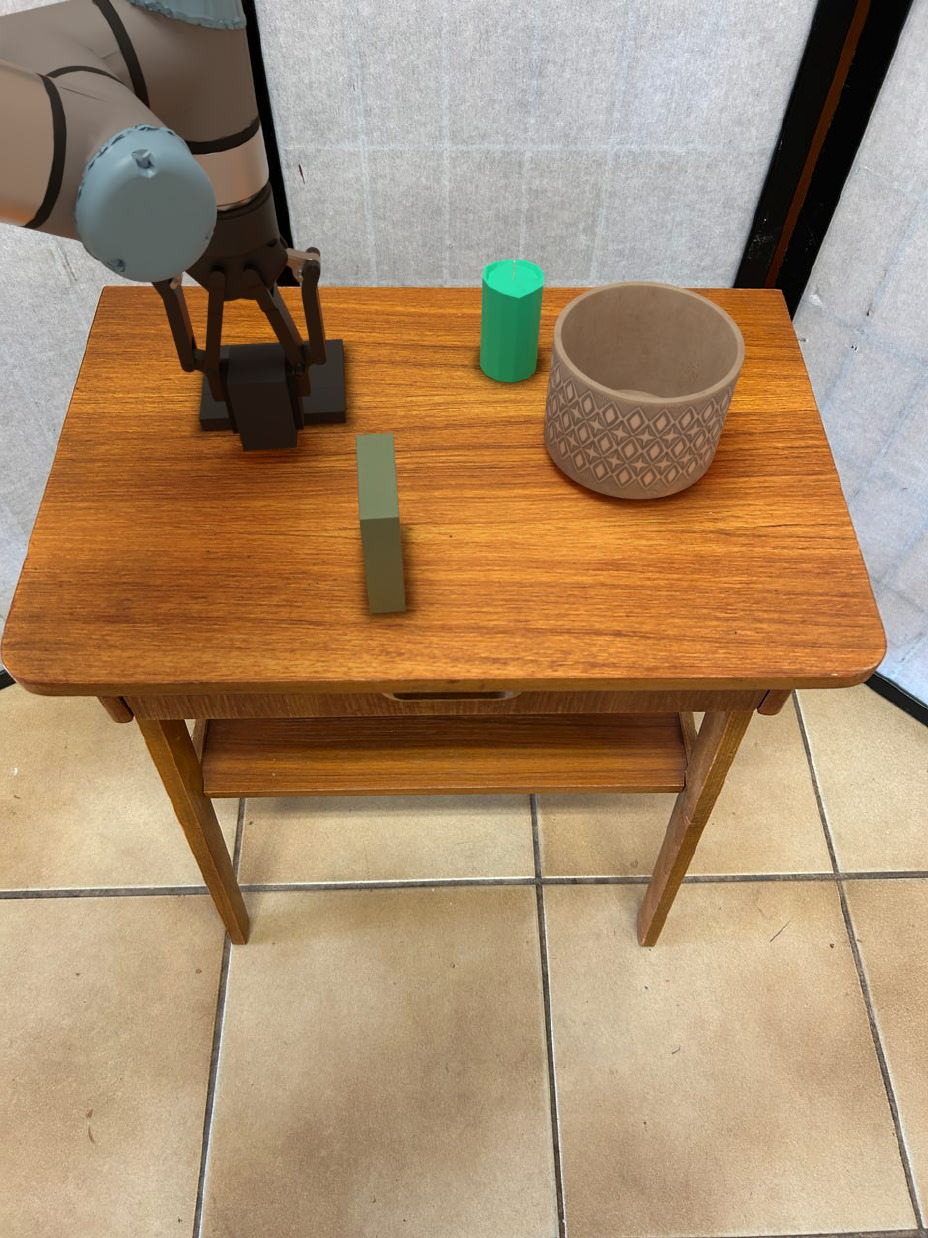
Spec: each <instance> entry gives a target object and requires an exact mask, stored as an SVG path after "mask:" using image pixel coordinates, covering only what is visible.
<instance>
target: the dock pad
mask: <svg viewBox="0 0 928 1238" xmlns="http://www.w3.org/2000/svg"><path fill="white" fill-rule="evenodd" d="M303 342H304V344H307V343H310V342H309V340H303ZM277 344H280V342H279V341H274V342H255V343H253V342H252V343H235V344H221V348H220V361H221V358H229V348H230V347H240V346H259V345H277ZM309 370H310V377H311V394H310V396H308V397H302V401H303V407H304V426H307V425H322V424H323V425H324V424H326V425H327V424H342V423H347V409H346V408H347V407H346V404H347V403H346V375H345V349H344V340H343V338H333V339H331V338H330V339H326V363H325V364H323V365H317V364H313V365H311V366H310V367H309ZM202 375H203V376H202V384H201V385H202V386H201V396H200V406H199V416H198V420H199V423H200V424H199V425H200V427H201V430H202V431H217V430H232V427H231V423H230V419H229V415H228V411H227V407H226V403H225V402H215V400H214V399H213V398H212V394H211V391H210V387H209V383H208V379H207V376H206V375H205V374H204V373H203V374H202Z"/></svg>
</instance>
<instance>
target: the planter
mask: <svg viewBox="0 0 928 1238" xmlns="http://www.w3.org/2000/svg"><path fill="white" fill-rule="evenodd" d="M552 335H553V337H552V344H551V355H550V364H549V374H548V380H547V381H548V382H547V392H546V399H545V400H546V401H545V410H544V419H543V433H542V435H543V441H544V445H545V448H546V450H547V453H548V455H549V456H550V459H552V461H553V462H554V464H555V465H556V466H557V467H558V468H559V469H560V470H561V472H562V473H564V474H565V475H566V476H568V477H569V478H570V479H571V480H573V481H574V482H575V483H578V484H579V485H581V486H583V487H585V488H587V489H590V490H592V491H594V492H596V493H600V494H603V495H606V496H611V497H615V498H621V499H628V500H629V499H630V500H650V499H651V500H652V499H656V498H663V497H668V496H671V495H673V494H677V493H679V492H681V491H684V490H686V489H687V488H688V489H689V487H691V486H692V485H693V484H695V483H696V482H698V481H699V480H700V479H701V478H702V477H703V476H704V475H705V474H706V473H707V471H708V470H709V468H710V466H711V465H712V462H713V460H714V457H715V454H716V452H717V448H718V445H719V441H720V439H721V435H722V433H723V430H724V429H723V428H724V426H725V422H726V419H727V416H728V412H729V410H730V406H731V404H732V400H733V397H734V394H735V391H736V388H737V384H738V381H739V378H740V374H741V371H742V368H743V365H744V362H745V356H746V345H745V339H744V336H743V333H742V331H741V329H740V327H739V326H738V325H737V323H736V321H735V320H734V319H733V318H732V316H730V315H729V314H728V312H727V311H725V310H724V309H723V308H722V307H721V306H719V305H718V304H716V303H715V302H714V301H712V300H710V299H709V298H707V297H705V296H703V295H701V294H699V293H698V292H697V293H696V292H695V291H692V290H689V289H687V288H684V287H681V286H676V285H674V284H673V285H672V284H669V283H663V282H657V281H645V280H632V281H631V280H628V281H627V280H626V281H619V282H611V283H607V284H603V285H600V286H597V287H594V288H592V289H589V290H587V291H585V292H583V293H581V294H580V295H578V296H576V297H575V298H573V299H572V300H570V302H568V304H566V306H565V307H563V309H562V310H561V311H560V313H559V315H558V316H557V319H556V321H555V323H554V328H553V334H552Z"/></svg>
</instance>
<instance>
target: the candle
mask: <svg viewBox="0 0 928 1238" xmlns="http://www.w3.org/2000/svg"><path fill="white" fill-rule="evenodd" d="M481 280H482V281H481V283H482V284H481V310H480V311H481V312H480V313H481V315H480V316H481V317H480V348H479V367H480V369H481V370H482V372H483V373H484V375H485V376H486V377H489V378H490V379H492V380H494V381H497V382H502V383H512V384H513V383H517V382H521V381H525V380H527V379H529V377H531V376H532V375H533V374H534V373H535V372H536V370H537V362H538V351H539V338H540V329H541V318H542V317H541V316H542V306H543V296H544V295H543V294H544V285H545V284H544V283H545V272H544V271H543V269H542V268H541V267H540V266H539V265H538V264H536V263H534V262H531V261H529V260H526V259H512V258H511V259H509V258H507V259H502V260H495V261H492V262H490V263H488V264H487V265H485V266H483V273H482V279H481Z"/></svg>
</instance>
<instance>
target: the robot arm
mask: <svg viewBox="0 0 928 1238" xmlns="http://www.w3.org/2000/svg"><path fill="white" fill-rule="evenodd" d="M246 26H247V17H246V14H245V13H244V9H243V4H242V0H64V1H59V2H56V3H55V2H54V3H51V4H47V5H43V6H38V7H34V8H30V9H25V10H22V11H17V12H12V13H8V14H3V15H0V224H5V225H9V226H14V227H18V228H24V229H27V230H32V231H36V232H40V233H44V234H47V235H51V236H56V237H60V238H64V239H69V240H73V241H77V242H79V243H81V244H82V247H83V249H84V250H85V252H86V253H87V254H88V255H89V256H90V257H91V258H93V259H94V260H96V261H98V262H100V263H101V264H102V265H103V266H104V267H105V268H107V269H108V270H109V271H111V272H113V273H114V274H116V275H117V276H119V277H121V278H123V279H126V280H129V281H133V282H138V283H151V285H152V286H153V288H154V289H155V290H156V292H157V293H158V295H159V297H160V298H161V299H162V302H163V306H164V310H165V314H166V317H167V320H168V325H169V328H170V332H171V335H172V338H173V342H174V346H175V349H176V352H177V357H178V361H179V364H180V368H181V369H182V371H184V372H185V373H191V374H192V373H193V372H196V371H197V372H201V373H203V374H205V375H206V376H207V379H208V383H209V387H210V391H211V394H212V398H213V399H214V400H215V402H225V403H226V407H227V411H228V415H229V419H230V423H231V427H232V429H231V430H232V434H233V435H239V432H238V428H237V424H236V420H235V416H234V412H233V408H232V404H231V400H230V396H229V392H228V388H227V373H228V360H229V358H221V361H220V348H221V345H222V334H223V333H222V332H223V321H224V319H223V318H224V307H225V302H233V301H238V300H240V299H242V300H248V301H255V302H256V303H257V305H258V308H259V309H260V311H261V312H262V313H264V315H265V316H266V319H267V320H268V323H269V325H270V326H271V329H272V331H273V332H274V335H275V336H276V338H277V340H278V342H280V344H281V346H282V348H283V350H284V352H285V354H286V379H287V385H288V390H289V395H290V401H291V406H292V412H293V417H294V423H295V428H296V430H298V431H304V430H305V425H304V407H303V401H302V397H308V396H310V394H311V377H310V370H309V367H310V366H311V365H313V364H317V365H323V364H325V363H326V340H327V337H326V330H325V324H324V319H323V317H324V316H323V312H322V311H323V310H322V303H321V299H320V291H319V280H320V277H321V271H322V270H321V269H322V267H321V265H322V264H321V262H322V261H321V250H320V249H318V248H317V247H315V246H310V247H308V248H307V249H306V250H305V251H302V250H299V249H294V248H291V247H289V246H288V245H289V244H288V243H287V242H286V240H285V239H284V238H283V236H282V235H281V233H280V229H279V225H278V219H277V213H276V206H275V200H274V195H273V187H272V184H271V182H270V180H269V177H270V175H269V174H270V173H269V172H270V171H269V164H268V159H267V152H266V147H265V140H264V135H263V129H262V124H261V120H260V119H261V118H260V114H259V108H258V104H257V99H256V91H255V84H254V76H253V70H252V64H251V63H252V62H251V55H250V50H249V42H248V36H247V29H246ZM286 266H287V267H289V268H290V269H291V271H292V276H293V278H294V279H295V280H296V281H297V282H298V283H299V284H301V286H300V287H301V288H300V289H301V291H300V293H301V300H302V306H303V312H304V317H305V318H304V319H305V323H306V330H307V335H308V341H309V342H310V343H307V344H304V342H303V341H304V340H303V337H302V335H301V334H300V331H299V329H298V327H297V325H296V323H295V321H294V319H293V317H292V314H291V313H290V311H289V309H288V307H287V305H286V302H285V301H284V298H283V297H282V295H281V293H280V290H279V286H278V283H277V281H278V279H279V277H280V276H281V274H282V273H283V271H284V270H285V268H286ZM184 272H185V273H186V274H187V275H188V276H189V277H190V278H191V279H193V280H194V281H195V283H197V284H199V285H200V287H202V288H203V289H204V290H205V291H206V292H207V293H208V299H207V315H206V316H207V318H206V333H205V336H206V337H205V347H204V348H205V349H202V348H201V349H200V348H198V344H197V340H196V338H195V333H194V330H193V325H192V320H191V317H190V313H189V309H188V305H187V301H186V298H185V293H184V290H183V285H182V284H183V278H184V277H183V276H184V274H183V273H184Z"/></svg>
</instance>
